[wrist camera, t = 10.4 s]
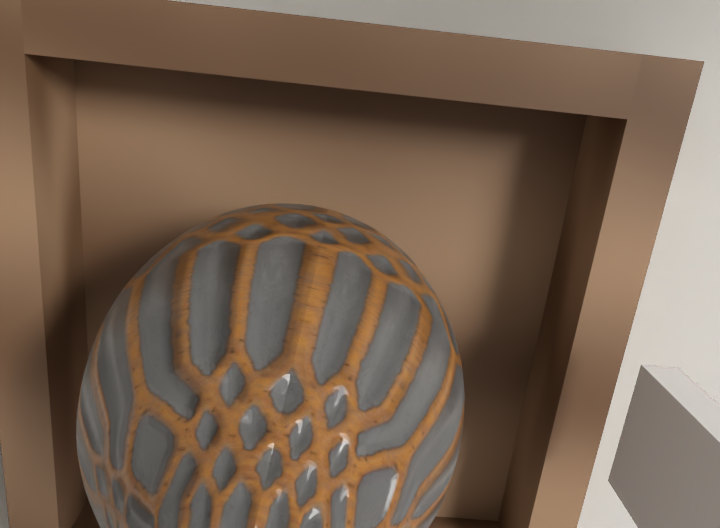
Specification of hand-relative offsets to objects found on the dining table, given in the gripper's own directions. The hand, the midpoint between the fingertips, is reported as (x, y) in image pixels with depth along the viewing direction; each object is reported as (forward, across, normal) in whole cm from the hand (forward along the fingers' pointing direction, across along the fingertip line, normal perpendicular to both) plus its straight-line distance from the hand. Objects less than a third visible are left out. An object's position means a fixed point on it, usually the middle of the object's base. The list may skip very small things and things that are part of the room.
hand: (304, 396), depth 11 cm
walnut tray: (+4, 0, 0) cm, 4 cm away
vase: (+4, 0, 0) cm, 4 cm away
